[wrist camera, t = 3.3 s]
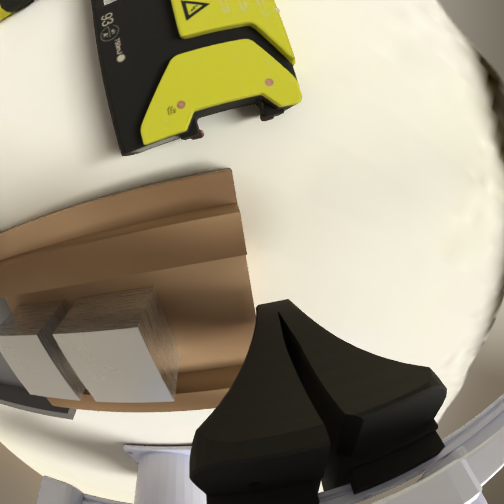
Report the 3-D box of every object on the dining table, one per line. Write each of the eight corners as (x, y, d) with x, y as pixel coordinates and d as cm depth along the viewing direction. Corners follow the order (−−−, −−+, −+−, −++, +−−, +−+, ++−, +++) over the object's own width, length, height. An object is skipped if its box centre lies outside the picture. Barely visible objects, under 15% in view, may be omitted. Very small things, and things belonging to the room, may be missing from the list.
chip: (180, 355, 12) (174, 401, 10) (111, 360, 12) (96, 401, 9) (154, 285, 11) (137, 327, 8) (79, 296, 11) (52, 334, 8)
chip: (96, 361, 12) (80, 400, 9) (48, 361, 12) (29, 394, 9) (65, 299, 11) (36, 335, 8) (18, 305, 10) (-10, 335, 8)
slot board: (265, 374, 16) (273, 412, 13) (75, 387, 15) (62, 417, 12) (230, 168, 11) (234, 173, 8) (-2, 233, 10) (-33, 252, 8)
